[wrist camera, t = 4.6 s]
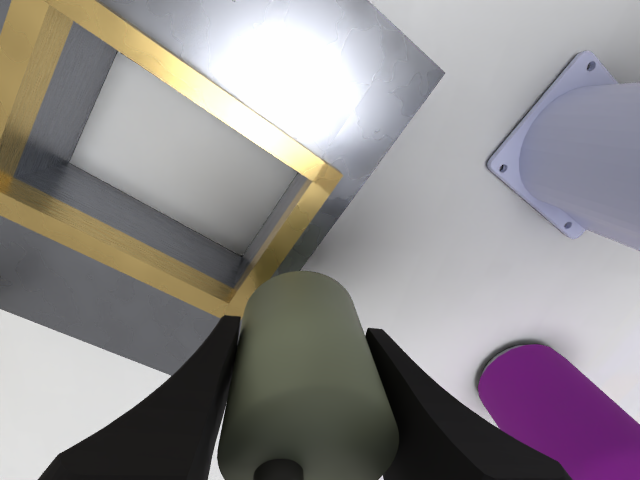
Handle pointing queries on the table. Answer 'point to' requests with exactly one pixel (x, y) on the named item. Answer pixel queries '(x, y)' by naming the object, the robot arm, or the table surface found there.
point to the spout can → (305, 389)
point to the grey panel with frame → (220, 100)
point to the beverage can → (560, 413)
